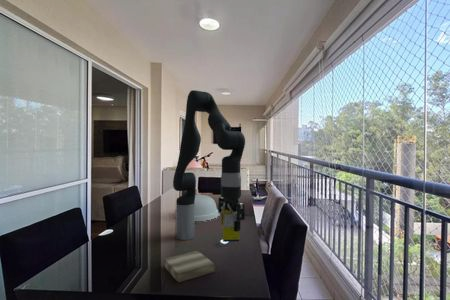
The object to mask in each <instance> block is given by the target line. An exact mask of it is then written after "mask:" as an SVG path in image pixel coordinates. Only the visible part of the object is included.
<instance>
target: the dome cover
mask: <svg viewBox="0 0 450 300" xmlns="http://www.w3.org/2000/svg"><path fill="white" fill-rule="evenodd" d="M194 209H195V221H204V222H207V221H206V220H210V221H212V220H211V219H214V218H216V219H218V218H219V217H218V216H220V217H221V213H219V212H218V206H217V204H216V201H215V200H214V199H213V198H212V197H211V196H209V195H206V194H205V195H204V194H195V201H194ZM174 217H176V209H175V210H174ZM217 217H218V218H217ZM214 220H215V219H214Z"/></svg>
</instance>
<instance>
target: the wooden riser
mask: <svg viewBox="0 0 450 300" xmlns="http://www.w3.org/2000/svg"><path fill="white" fill-rule="evenodd" d="M164 268H165V269H166V271H168V273H169V274H170V275H171V276H172V277H173V278H174V279H175V281H176V282H177V283H178V282H179V283H181V282H185V281H188V280H192V279H195V278H199V277H201V276H205V275H208V274H211V273H214V272H215V263H214V262H213V261H211V260H210V259H209V258H207V257H206V256H205V255H204V254H202V252H200V251H199V250H195V251H189V252H187V253H183V254H178V255H174V256H170V257H166V258H164Z"/></svg>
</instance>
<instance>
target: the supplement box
mask: <svg viewBox="0 0 450 300" xmlns="http://www.w3.org/2000/svg"><path fill="white" fill-rule="evenodd" d="M234 212H237V210H236V211H234ZM236 217H237V215H236ZM234 221H235V220H234V218H233V216H232V215H231V213H230V211H229V210H226V209H223V225H222V242H224V243H225V242H227V243H229V242H231V243H232V242H240V231H237V232H235V231H234Z"/></svg>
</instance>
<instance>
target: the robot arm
mask: <svg viewBox="0 0 450 300" xmlns="http://www.w3.org/2000/svg"><path fill="white" fill-rule="evenodd" d="M196 112H199V113H201V112H202V113H206V114H208V118H207V124H208V126H209V128H210V129H211V130H212V132H213V133H214V136H215V140H216V144H217V146H218V148H220V149H222V150H225V151H231V152H230V155H226V156H224V157H222V158H221V174H220V175H221V176H220V197H218V205H217V210H218V212H219V213H220V216H221V225H222V226H223V209H226V210H229V211H230V213H231V215H232V216H233V218H234V220H235V221H234V231H235V232H237V231H239V232H240V231H241V221H245V220H246V218H245V217H246V215H245V211H246V210H245V209H246V208H245V203H244V202H240V201H239V199H240V198H241V197H242V175H241V161H242V158H243V157H242V156H243V155H244V151H245V146H246V138H245V135H244V133H243V132H241V131H238V130H237V131H236V130H235V131H234V130H232V127H231V124H230V123H229V121H228V120H227V119H226V118H225V116H224V115H223V114H222V113H221V111H220V109H219V107H218V105H217V102H216V101H215V98H214V97H213V95H212V94H211V93H209V92H207V91H202V90H201V91H200V90H194V89H193V90H190V91H189V92H188V95H187V99H186V106H185V116H184V117H185V118H184V124H183V125H184V126H183V131H182V136H181V141H180V147H179V153H178V158H177V159H178V160H177V164H176V167H175V171H174V174H173V179H172V180H173V181H172V186H173V189H174V190H175V191H176V192H184V191H185V193H183V194H182V195H181V196H179V197H177V198H176V202H175V203H176V205H175V206H176V209H175V210H176V218H175V220H176V221H175V222H176V225H175V227H176V228H175V229H176V232H175V233H176V234H175V235H176V239H177V240H181V241H187V240H188V241H189V240H192V239H194V238H195V229H196V228H195V225H196V224H195V223H196V222H195V209H194V201H195V195H196V187H197V178H196V174H195V173H194V172H186V170H187V168H188V166H189V165H190V163H191V162H192V161H194V159H195V158H196V157H197V155H198V153H199V152H200V147H201V142H202V137H201V134H200V132H199V129H198V127H197V124H196ZM236 210H237V212H234V211H236ZM236 215H237V217H236Z"/></svg>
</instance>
